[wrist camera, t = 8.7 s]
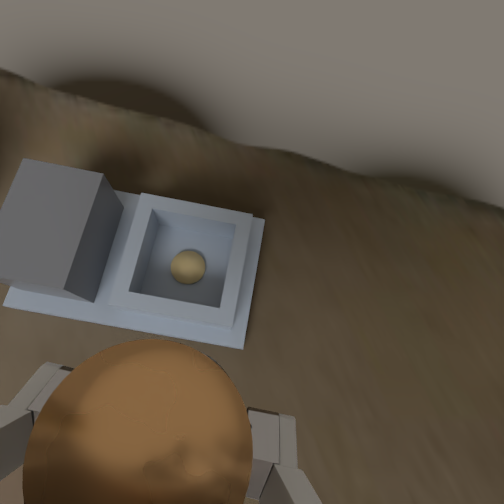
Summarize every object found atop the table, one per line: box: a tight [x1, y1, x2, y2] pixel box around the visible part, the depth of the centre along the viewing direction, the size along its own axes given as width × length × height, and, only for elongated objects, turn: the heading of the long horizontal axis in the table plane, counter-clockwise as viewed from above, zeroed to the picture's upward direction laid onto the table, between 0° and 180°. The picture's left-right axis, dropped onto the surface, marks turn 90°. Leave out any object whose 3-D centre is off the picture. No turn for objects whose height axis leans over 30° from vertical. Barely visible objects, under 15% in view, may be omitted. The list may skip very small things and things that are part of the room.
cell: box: [23, 339, 253, 504], centre depth 11 cm, size 5×5×8 cm
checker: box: [0, 158, 265, 349], centre depth 28 cm, size 20×12×8 cm, turn 80°
